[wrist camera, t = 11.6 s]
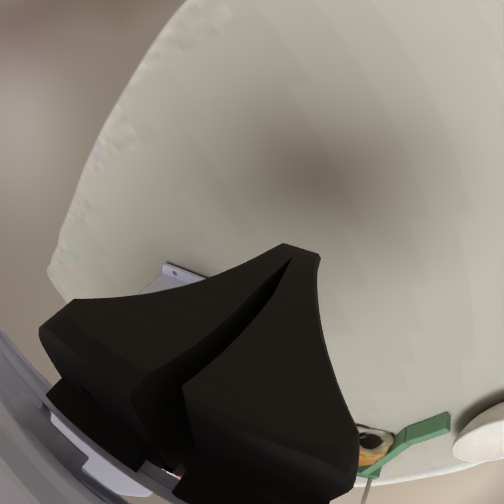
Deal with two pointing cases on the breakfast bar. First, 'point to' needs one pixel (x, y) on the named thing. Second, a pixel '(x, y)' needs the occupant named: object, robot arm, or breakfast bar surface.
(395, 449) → the green bars
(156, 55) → the breakfast bar surface
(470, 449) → the spoon rest
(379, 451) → the pastry
